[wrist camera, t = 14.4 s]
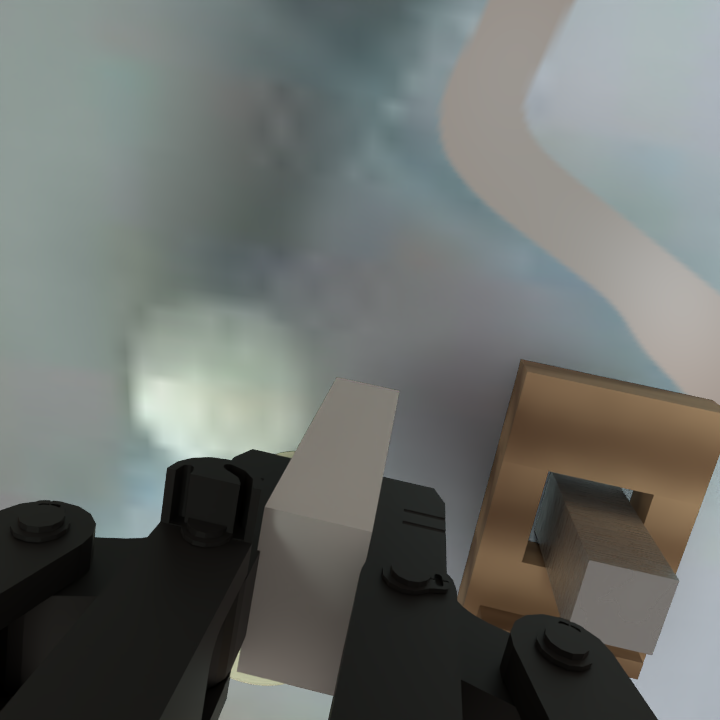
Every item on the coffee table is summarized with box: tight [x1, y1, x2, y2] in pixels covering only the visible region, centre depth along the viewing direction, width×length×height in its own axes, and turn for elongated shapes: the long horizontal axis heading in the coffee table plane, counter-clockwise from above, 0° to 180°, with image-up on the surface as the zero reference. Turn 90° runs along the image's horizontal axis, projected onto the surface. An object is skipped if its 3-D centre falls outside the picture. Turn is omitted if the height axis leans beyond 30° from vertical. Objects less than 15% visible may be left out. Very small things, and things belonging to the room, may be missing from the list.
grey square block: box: [534, 472, 679, 655], centre depth 38 cm, size 4×4×11 cm
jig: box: [457, 359, 720, 679], centre depth 41 cm, size 18×12×5 cm, turn 169°
